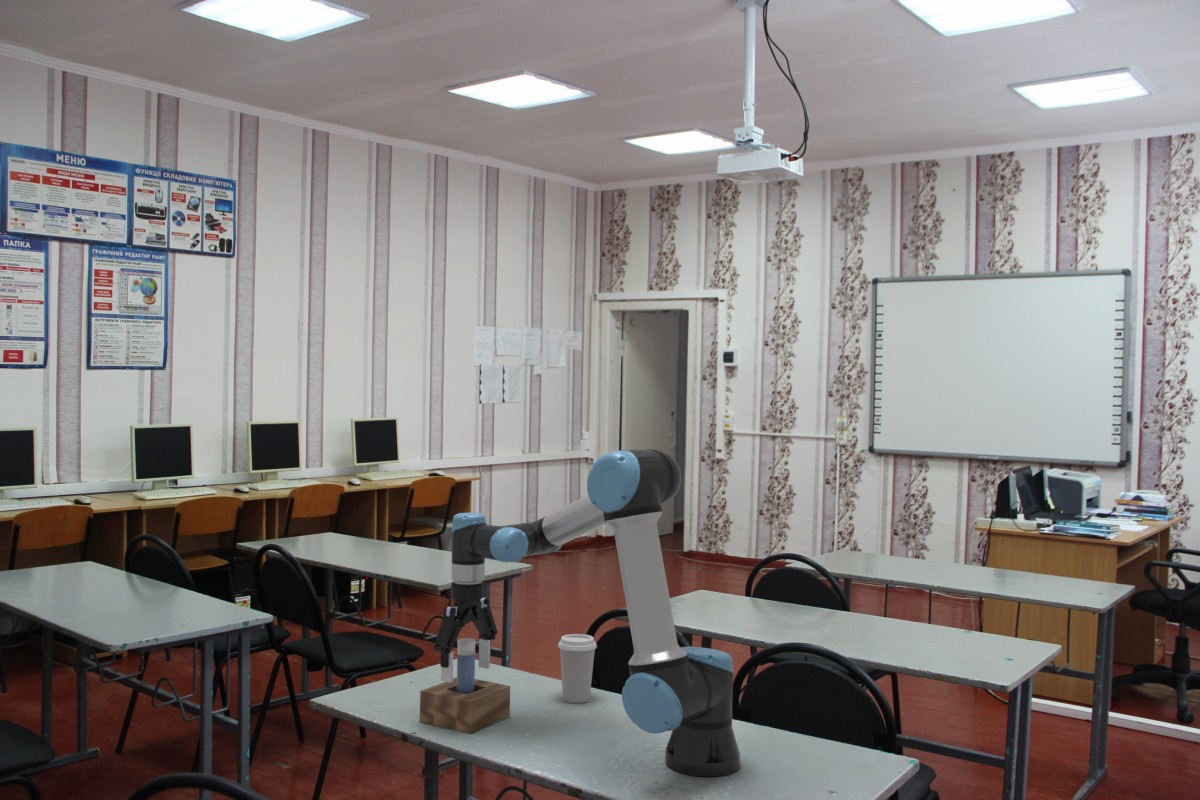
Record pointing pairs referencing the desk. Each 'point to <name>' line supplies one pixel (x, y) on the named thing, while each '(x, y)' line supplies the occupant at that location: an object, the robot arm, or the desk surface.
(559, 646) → the coffee cup
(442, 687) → the socket block
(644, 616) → the robot arm
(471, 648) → the marker
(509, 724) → the desk surface
